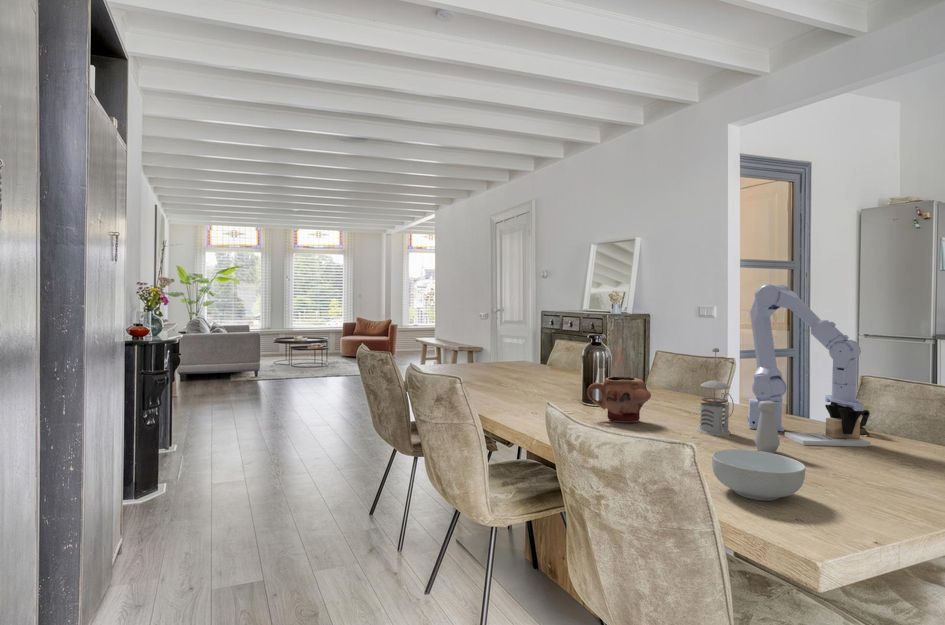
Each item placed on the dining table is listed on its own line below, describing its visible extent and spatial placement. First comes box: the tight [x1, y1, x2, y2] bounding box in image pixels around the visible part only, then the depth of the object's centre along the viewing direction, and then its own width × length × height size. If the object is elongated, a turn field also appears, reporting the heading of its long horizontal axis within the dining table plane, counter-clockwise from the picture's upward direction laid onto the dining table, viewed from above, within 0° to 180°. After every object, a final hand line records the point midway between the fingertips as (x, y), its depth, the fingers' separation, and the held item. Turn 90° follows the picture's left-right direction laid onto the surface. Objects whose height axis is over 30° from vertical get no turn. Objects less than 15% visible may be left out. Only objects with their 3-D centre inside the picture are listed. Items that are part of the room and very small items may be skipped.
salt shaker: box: [754, 401, 781, 454], centre depth 151 cm, size 6×6×13 cm
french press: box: [696, 347, 735, 437], centre depth 172 cm, size 10×12×25 cm
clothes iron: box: [860, 409, 871, 436], centre depth 175 cm, size 7×11×10 cm, turn 176°
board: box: [784, 431, 872, 447], centre depth 163 cm, size 18×10×1 cm, turn 88°
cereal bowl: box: [711, 448, 806, 501], centre depth 117 cm, size 17×17×7 cm
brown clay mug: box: [586, 376, 652, 423], centre depth 188 cm, size 20×12×14 cm, turn 87°
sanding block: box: [825, 417, 861, 439], centre depth 163 cm, size 7×4×5 cm, turn 88°
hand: (842, 432), depth 163 cm, fingers closed on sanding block, 4 cm apart
